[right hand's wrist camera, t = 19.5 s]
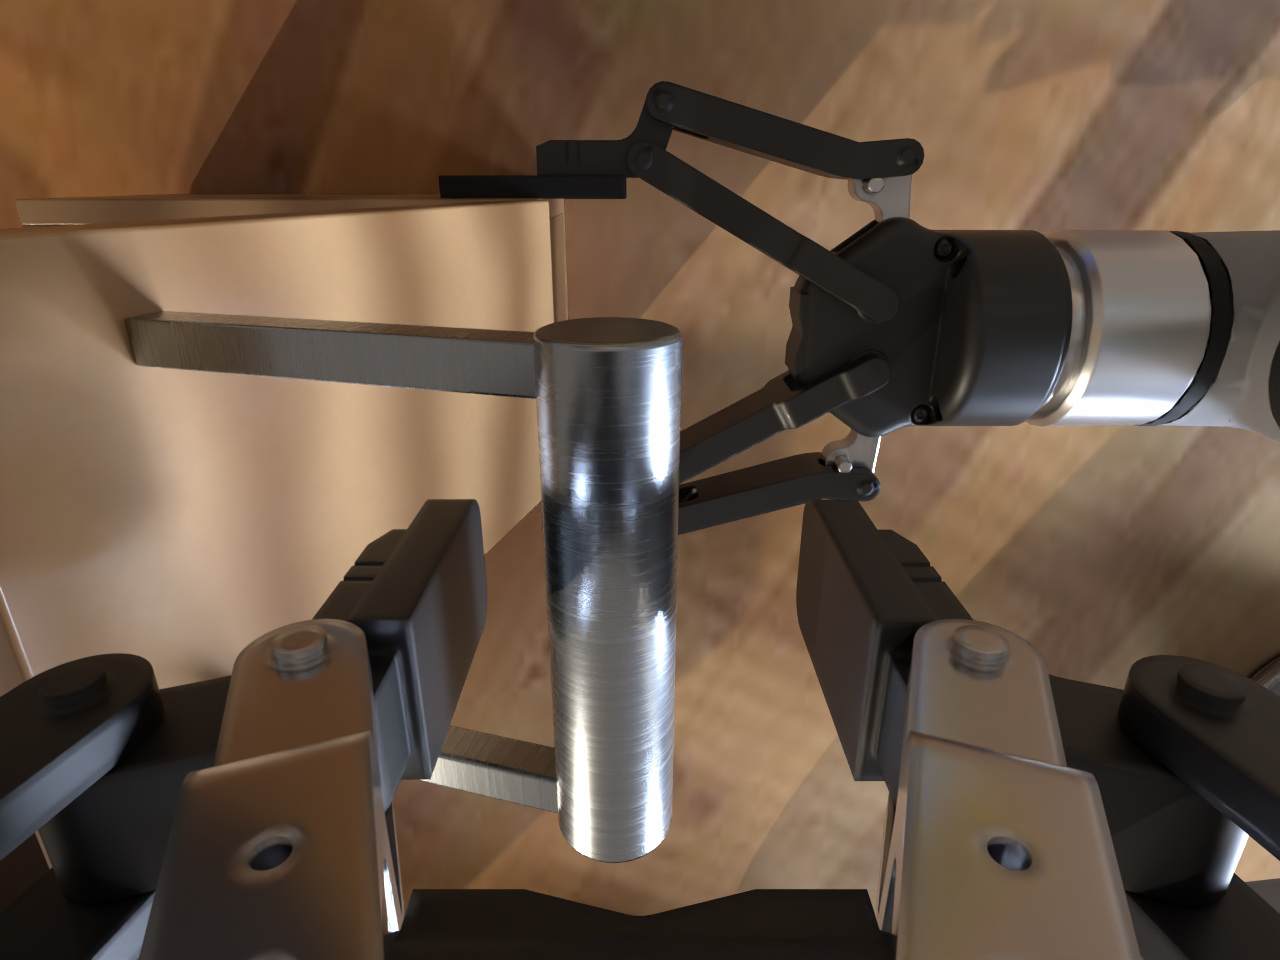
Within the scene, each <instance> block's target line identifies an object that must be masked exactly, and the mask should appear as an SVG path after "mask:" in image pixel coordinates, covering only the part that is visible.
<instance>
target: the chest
mask: <svg viewBox="0 0 1280 960" xmlns="http://www.w3.org/2000/svg"><path fill="white" fill-rule="evenodd" d="M503 200H547V201H548V202H549V218H550V241H551V264H552V287H553V310H554V323H555V322H559V321H565V320H568V300H567V272H566V244H565V217H564V199H541V198H441V197H440V194H167V195H136V196H104V197H72V198H41V199H16V200H15V204H16V207H17V211H18V214H19V218H20V221H21V224H23V225H24V226H23V228H25V227H42V226H60V225H78V224H96V223H113V222H131V221H149V220H166V219H184V218H202V217H219V216H237V215H255V214H273V213H290V212H308V211H326V210H343V209H361V208H379V207H397V206H414V205H432V204H450V203H467V202H485V201H503Z"/></svg>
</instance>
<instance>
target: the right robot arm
mask: <svg viewBox="0 0 1280 960" xmlns="http://www.w3.org/2000/svg"><path fill="white" fill-rule="evenodd" d="M796 602H797V615H798V622H799V626H800V629H801V632H802V635H803V638H804V641H805V643H806V646H807V649H808V652H809V655H810V657H811V660H812V663H813V666H814V669H815V671H816V674H817V677H818V680H819V683H820V685H821V688H822V691H823V694H824V697H825V699H826V702H827V705H828V708H829V711H830V713H831V716H832V719H833V722H834V724H835V727H836V730H837V733H838V736H839V738H840V741H841V744H842V747H843V750H844V752H845V755H846V758H847V761H848V764H849V766H850V769H851V772H852V775H853V778H854V780H855V781H885V783H886V785H887V788H888V790H889V797H888V803H887V809H886V815H885V822H884V832H883V842H882V852H881V862H880V872H879V882H878V892H877V902H876V912H875V913H874V910H873V907H872V904H871V901H870V898H869V894H868V891H867V889H755V890H751V891H747V892H743V893H739V894H735V895H730V896H726V897H722V898H718V899H714V900H710V901H706V902H702V903H698V904H694V905H690V906H686V907H682V908H678V909H674V910H669V911H665V912H661V913H657V914H653V915H647V916H633V915H627V914H623V913H619V912H615V911H611V910H606V909H602V908H598V907H594V906H590V905H586V904H582V903H578V902H574V901H570V900H566V899H562V898H558V897H554V896H550V895H545V894H541V893H537V892H533V891H529V890H525V889H413V891H412V894H411V898H410V901H409V904H408V907H407V910H406V913H405V912H404V902H403V892H402V882H401V872H400V862H399V852H398V842H397V832H396V822H395V815H394V809H393V803H392V800H393V798H394V795H395V793H396V790H397V788H398V785H399V783H400V780H431V777H432V774H433V771H434V768H435V765H436V762H437V760H438V757H439V754H440V751H441V748H442V745H443V742H444V740H445V737H446V734H447V731H448V728H449V725H450V722H451V720H452V717H453V714H454V711H455V708H456V705H457V702H458V700H459V697H460V694H461V691H462V688H463V685H464V682H465V680H466V677H467V674H468V671H469V668H470V665H471V662H472V660H473V657H474V654H475V651H476V648H477V645H478V642H479V640H480V637H481V634H482V631H483V628H484V624H485V619H486V612H487V582H486V571H485V559H484V548H483V536H482V525H481V514H480V508H479V505H478V502H477V500H476V499H428V500H427V501H426V502H425V503H424V505H423V506H422V508H421V509H420V511H419V512H418V514H417V515H416V517H415V518H414V520H413V521H412V523H411V524H410V526H409V527H408V529H392V530H391V531H389V532H387V533H386V534H384V535H383V536H381V537H379V538H378V539H376V540H374V541H373V542H371V543H369V544H368V545H367V546H366V548H365V549H364V550H363V552H362V553H361V554H360V556H359V557H358V558H357V560H356V561H355V565H354V566H351V568H350V569H349V570H348V572H347V573H346V574H345V576H344V580H343V581H340V582H339V584H338V585H337V586H336V588H335V589H334V590H333V592H332V593H331V594H330V596H329V597H328V598H327V600H326V601H325V602H324V604H323V605H322V606H321V608H320V609H319V610H318V612H317V613H316V614H315V616H314V617H313V618H312V620H306V621H300V622H296V623H292V624H288V625H285V626H282V627H279V628H277V629H274V630H272V631H270V632H268V633H266V634H264V635H262V636H260V637H259V638H257V639H255V640H254V641H252V642H251V643H250V644H248V645H247V646H246V647H245V648H244V649H243V650H242V651H241V652H240V653H239V655H238V656H237V658H236V660H235V662H234V665H233V670H232V675H230V676H226V677H221V678H217V679H211V680H206V681H201V682H196V683H190V684H185V685H180V686H174V687H169V688H164V689H159V687H158V684H157V680H156V677H155V673H154V670H153V667H152V665H151V663H150V662H149V661H148V660H147V659H145V658H143V657H141V656H137V655H133V654H125V653H110V654H102V655H95V656H90V657H85V658H81V659H77V660H73V661H70V662H67V663H64V664H61V665H58V666H56V667H53V668H51V669H49V670H46V671H44V672H42V673H40V674H38V675H36V676H34V677H32V678H30V679H28V680H27V681H25V682H23V683H22V684H20V685H18V686H17V687H15V688H14V689H12V690H10V691H9V692H7V693H6V694H4V695H2V696H1V697H0V960H136V959H137V958H138V957H139V959H138V960H1142V959H1141V957H1142V958H1143V959H1144V960H1280V913H1278V912H1277V911H1276V910H1275V909H1274V908H1273V907H1272V906H1271V905H1269V904H1268V903H1267V902H1266V901H1265V900H1264V899H1263V898H1262V897H1260V896H1259V895H1258V894H1257V893H1256V892H1255V891H1254V890H1253V889H1252V888H1250V887H1249V886H1248V885H1247V884H1246V883H1245V882H1244V881H1243V880H1241V879H1240V878H1239V877H1238V876H1237V875H1236V874H1235V873H1234V871H1235V868H1236V866H1237V864H1238V861H1239V859H1240V856H1241V854H1242V851H1243V849H1244V846H1245V844H1246V841H1247V839H1248V836H1250V837H1252V838H1253V839H1254V840H1255V841H1256V842H1258V843H1259V844H1260V845H1261V846H1262V847H1264V848H1265V849H1266V850H1267V851H1268V852H1270V853H1271V854H1272V855H1273V856H1274V857H1276V858H1277V859H1278V860H1279V861H1280V697H1279V696H1278V695H1276V694H1274V693H1273V692H1271V691H1270V690H1268V689H1266V688H1265V687H1263V686H1262V685H1260V684H1258V683H1256V682H1255V681H1253V680H1251V679H1249V678H1247V677H1245V676H1243V675H1241V674H1239V673H1237V672H1235V671H1232V670H1230V669H1227V668H1225V667H1222V666H1219V665H1216V664H1213V663H1210V662H1206V661H1202V660H1198V659H1193V658H1188V657H1182V656H1173V655H1158V656H1150V657H1145V658H1142V659H1140V660H1138V661H1136V662H1135V663H1134V664H1133V665H1132V667H1131V669H1130V672H1129V675H1128V678H1127V682H1126V685H1125V689H1124V690H1121V689H1116V688H1111V687H1105V686H1100V685H1095V684H1090V683H1084V682H1079V681H1074V680H1069V679H1064V678H1060V677H1056V676H1052V675H1049V674H1048V670H1047V665H1046V662H1045V660H1044V658H1043V656H1042V655H1041V653H1040V652H1039V651H1038V650H1037V649H1036V648H1035V647H1034V646H1033V645H1032V644H1030V643H1029V642H1028V641H1026V640H1025V639H1023V638H1021V637H1020V636H1018V635H1016V634H1014V633H1012V632H1010V631H1008V630H1006V629H1003V628H1001V627H998V626H995V625H992V624H988V623H984V622H980V621H974V620H973V619H972V617H971V616H970V615H969V613H968V612H967V611H966V610H965V608H964V607H963V606H962V604H961V603H960V602H959V600H958V599H957V598H956V596H955V595H954V594H953V592H952V591H951V590H950V588H949V587H948V586H947V585H946V583H945V582H942V581H941V577H940V575H939V574H938V573H937V571H936V570H935V569H934V567H930V562H929V561H928V560H927V558H926V557H925V556H924V554H923V553H922V552H921V550H920V549H919V548H918V546H917V545H915V544H914V543H912V542H911V541H909V540H907V539H906V538H904V537H902V536H901V535H899V534H897V533H896V532H894V531H892V530H877V528H876V527H875V525H874V524H873V523H872V521H871V520H870V518H869V517H868V515H867V514H866V512H865V511H864V509H863V508H862V506H861V505H860V503H859V502H858V501H857V500H808V501H807V503H806V505H805V509H804V514H803V524H802V535H801V546H800V557H799V568H798V579H797V594H796ZM37 830H38V832H39V835H40V837H41V840H42V842H43V845H44V847H45V850H46V852H47V855H48V857H49V860H50V862H51V865H52V868H51V869H49V866H48V864H47V862H46V859H45V857H44V854H43V852H42V849H41V847H40V844H39V842H38V839H37V837H36V834H35V832H36V831H37Z"/></svg>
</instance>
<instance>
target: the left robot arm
mask: <svg viewBox="0 0 1280 960" xmlns="http://www.w3.org/2000/svg"><path fill="white" fill-rule="evenodd" d="M672 130H675V131H678V132H681V133H684V134H688V135H691V136H694V137H697V138H700V139H704V140H707V141H710V142H713V143H717V144H720V145H723V146H726V147H729V148H733V149H736V150H739V151H742V152H745V153H749V154H752V155H755V156H758V157H762V158H765V159H768V160H771V161H774V162H778V163H781V164H784V165H787V166H791V167H794V168H797V169H800V170H803V171H807V172H810V173H813V174H816V175H820V176H824V177H828V178H836V179H848V191H849V194H850V195H851V196H852V198H854V199H855V200H857V201H862V202H866V203H868V204H869V205H870V206H871V207H872V208H873V210H874V212H875V220H873V221H872V222H870V223H869V224H868V225H866V226H865V227H863V228H862V229H860V230H859V231H858V232H856V233H855V234H853V235H852V236H851V237H849V238H848V239H846V240H845V241H843V242H842V243H841V244H839V245H838V246H836V247H835V248H834V249H832V250H831V251H828V250H827V249H825V248H824V247H822V246H820V245H819V244H817V243H816V242H814V241H812V240H810V239H809V238H807V237H805V236H803V235H801V234H800V233H798V232H796V231H795V230H793V229H792V228H790V227H788V226H787V225H785V224H784V223H782V222H780V221H779V220H777V219H775V218H774V217H772V216H771V215H769V214H767V213H766V212H764V211H763V210H761V209H759V208H758V207H756V206H754V205H753V204H751V203H750V202H748V201H746V200H745V199H743V198H742V197H740V196H738V195H737V194H735V193H733V192H732V191H730V190H729V189H727V188H725V187H724V186H722V185H721V184H719V183H717V182H716V181H714V180H713V179H711V178H709V177H708V176H706V175H704V174H703V173H701V172H700V171H698V170H696V169H695V168H693V167H692V166H690V165H688V164H687V163H685V162H683V161H682V160H680V159H679V158H677V157H675V156H674V155H672V154H671V153H669V152H667V151H666V147H667V144H668V141H669V138H670V135H671V132H672ZM536 153H537V175H538V176H439V186H440V197H441V198H541V199H625V198H626V178H641V179H642V180H644V181H646V182H647V183H649V184H651V185H652V186H654V187H655V188H657V189H659V190H660V191H662V192H664V193H665V194H667V195H669V196H670V197H672V198H674V199H675V200H677V201H678V202H680V203H682V204H683V205H685V206H687V207H688V208H690V209H692V210H693V211H695V212H697V213H698V214H700V215H702V216H703V217H705V218H706V219H708V220H710V221H711V222H713V223H715V224H716V225H718V226H720V227H721V228H723V229H725V230H726V231H728V232H730V233H731V234H733V235H734V236H736V237H738V238H739V239H741V240H743V241H744V242H746V243H748V244H749V245H751V246H753V247H754V248H756V249H758V250H759V251H761V252H762V253H764V254H766V255H767V256H769V257H771V258H772V259H774V260H776V261H777V262H779V263H781V264H782V265H784V266H785V267H787V268H789V269H790V270H792V271H794V272H795V273H797V274H799V275H800V276H799V278H798V279H797V281H796V283H795V286H794V287H791V288H790V302H789V308H790V313H791V318H792V324H793V327H792V330H791V333H790V336H789V339H788V342H787V345H786V356H785V364H786V365H787V367H788V369H789V371H787V372H785V373H783V374H781V375H779V376H777V377H776V378H774V379H772V380H770V381H769V382H768V383H767V384H766V385H765V386H764V387H763V388H762V389H760V390H759V391H757V392H755V393H753V394H751V395H749V396H747V397H745V398H743V399H742V400H740V401H738V402H736V403H734V404H732V405H730V406H728V407H726V408H725V409H723V410H721V411H719V412H717V413H715V414H713V415H711V416H709V417H708V418H706V419H704V420H702V421H700V422H698V423H696V424H694V425H692V426H691V427H689V428H687V429H685V430H683V431H681V432H680V453H679V484H680V483H682V482H684V481H686V480H688V479H690V478H692V477H694V476H696V475H698V474H700V473H702V472H704V471H705V470H707V469H709V468H711V467H713V466H715V465H717V464H719V463H721V462H723V461H725V460H727V459H729V458H731V457H733V456H735V455H737V454H738V453H740V452H742V451H744V450H746V449H748V448H750V447H752V446H754V445H756V444H758V443H760V442H762V441H764V440H766V439H768V438H770V437H771V436H773V435H775V434H777V433H779V432H781V431H783V430H786V429H795V428H798V427H801V426H803V425H805V424H807V423H809V422H811V421H813V420H814V419H816V418H818V417H820V416H822V415H824V414H826V413H828V412H830V413H831V414H833V415H834V416H835V417H837V418H838V419H839V420H841V421H842V422H843V423H845V424H846V425H847V426H849V427H850V428H851V431H850V433H849V434H848V436H847V437H845V438H844V439H842V440H839V441H834V442H831V443H828V444H827V445H826V446H825V447H824V449H823V450H822V452H815V453H805V454H800V455H795V456H791V457H787V458H783V459H779V460H775V461H771V462H767V463H763V464H760V465H756V466H752V467H748V468H744V469H740V470H736V471H732V472H728V473H725V474H721V475H717V476H713V477H709V478H705V479H701V480H697V481H693V482H690V483H686V484H682V485H679V500H678V535H680V534H684V533H688V532H692V531H696V530H700V529H704V528H708V527H712V526H716V525H720V524H724V523H728V522H732V521H736V520H740V519H744V518H748V517H752V516H756V515H760V514H764V513H768V512H772V511H776V510H780V509H784V508H788V507H792V506H796V505H800V504H804V503H807V501H808V500H820V499H835V500H857V501H870V500H872V499H874V498H875V497H876V496H877V495H878V494H879V491H880V482H879V480H878V478H877V477H876V476H875V475H874V468H875V463H876V458H877V453H878V449H879V444H880V439H881V436H885V435H887V434H889V433H891V432H893V431H895V430H897V429H900V428H903V427H906V426H912V425H921V426H1014V425H1018V424H1020V423H1022V422H1024V421H1026V422H1028V423H1029V424H1031V425H1035V426H1041V427H1047V426H1103V425H1139V426H1157V425H1173V426H1227V427H1234V428H1242V429H1246V430H1251V431H1254V432H1257V433H1259V434H1262V435H1264V436H1267V437H1269V438H1272V439H1274V440H1277V441H1279V442H1280V231H1241V232H1199V233H1186V232H1179V231H1136V230H1062V231H1053V232H1051V233H1049V234H1047V235H1045V236H1044V235H1042V234H1041V233H1039V232H1037V231H1033V230H929V229H927V228H925V227H923V226H921V225H919V224H918V223H916V222H915V221H913V220H911V219H909V212H910V194H911V176H912V174H913V173H914V172H916V171H917V170H918V169H919V168H920V166H921V165H922V163H923V159H924V150H923V147H922V146H921V144H920V143H919V142H918V141H916V140H915V139H909V138H906V139H894V140H882V141H870V142H856V141H853V140H850V139H847V138H844V137H841V136H837V135H834V134H831V133H828V132H825V131H822V130H819V129H815V128H812V127H809V126H806V125H803V124H800V123H796V122H793V121H790V120H787V119H784V118H781V117H778V116H774V115H771V114H768V113H765V112H762V111H759V110H756V109H752V108H749V107H746V106H743V105H740V104H737V103H733V102H730V101H727V100H724V99H721V98H718V97H715V96H711V95H708V94H705V93H702V92H699V91H696V90H693V89H689V88H686V87H683V86H680V85H677V84H674V83H670V82H664V81H661V82H659V83H656V84H654V85H653V86H652V87H651V88H650V89H649V92H648V94H647V97H646V100H645V103H644V106H643V109H642V112H641V115H640V118H639V121H638V124H637V126H636V129H635V130H634V131H633V133H632V134H631V135H630V136H628V137H627V138H625V139H622V140H550V141H547V142H545V143H543V144H541V145H538V146H536ZM1250 679H1251V680H1253V681H1255V682H1256V683H1258V684H1260V685H1262V686H1263V687H1265V688H1266V689H1268V690H1270V691H1271V692H1273V693H1274V694H1276V695H1278V696H1279V697H1280V656H1278V657H1277V658H1275V659H1274V660H1272V661H1271V662H1270V663H1268V664H1267V665H1265V666H1264V667H1263V668H1261V669H1260V670H1259V671H1258V672H1257V673H1256V674H1255V675H1253V676H1252V677H1251V678H1250ZM1245 883H1246V884H1247V885H1248V886H1249V887H1250V888H1252V889H1253V890H1254V891H1255V892H1256V893H1257V894H1258V895H1259V896H1260V897H1262V898H1263V899H1264V900H1265V901H1266V902H1267V903H1268V904H1269V905H1271V906H1272V907H1273V908H1274V909H1275V910H1276V911H1277V912H1278V913H1280V878H1279V879H1269V880H1260V881H1251V882H1245ZM1141 959H1142V960H1144V959H1143V958H1142V957H1141Z"/></svg>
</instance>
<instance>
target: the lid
mask: <svg viewBox="0 0 1280 960" xmlns="http://www.w3.org/2000/svg"><path fill="white" fill-rule="evenodd" d="M681 357H682V336H681V333H680V331H679V329H678V328H676V327H674V326H672V325H669V324H666V323H663V322H659V321H654V320H647V319H638V318H620V317H601V318H582V319H572V320H565V321H559V322H555V323H554V310H553V287H552V264H551V241H550V218H549V202H548V201H547V200H503V201H485V202H467V203H450V204H432V205H414V206H397V207H379V208H361V209H343V210H326V211H308V212H290V213H273V214H255V215H237V216H219V217H202V218H184V219H166V220H149V221H131V222H113V223H96V224H78V225H60V226H42V227H25V228H7V229H0V697H1V696H2V695H4V694H6V693H7V692H9V691H10V690H12V689H14V688H15V687H17V686H18V685H20V684H22V683H23V682H25V681H27V680H28V679H30V678H32V677H34V676H36V675H38V674H40V673H42V672H44V671H46V670H49V669H51V668H53V667H56V666H58V665H61V664H64V663H67V662H70V661H73V660H77V659H81V658H85V657H90V656H95V655H102V654H110V653H125V654H133V655H137V656H141V657H143V658H145V659H147V660H148V661H149V662H150V663H151V665H152V667H153V670H154V673H155V677H156V680H157V684H158V687H159V689H164V688H169V687H174V686H180V685H185V684H190V683H196V682H201V681H206V680H211V679H217V678H221V677H226V676H230V675H232V670H233V665H234V662H235V660H236V658H237V656H238V655H239V653H240V652H241V651H242V650H243V649H244V648H245V647H246V646H247V645H248V644H250V643H251V642H252V641H254V640H255V639H257V638H259V637H260V636H262V635H264V634H266V633H268V632H270V631H272V630H274V629H277V628H279V627H282V626H285V625H288V624H292V623H296V622H300V621H306V620H312V618H313V617H314V616H315V614H316V613H317V612H318V610H319V609H320V608H321V606H322V605H323V604H324V602H325V601H326V600H327V598H328V597H329V596H330V594H331V593H332V592H333V590H334V589H335V588H336V586H337V585H338V584H339V582H340V581H343V580H344V576H345V574H346V573H347V572H348V570H349V569H350V568H351V566H354V565H355V561H356V560H357V558H358V557H359V556H360V554H361V553H362V552H363V550H364V549H365V548H366V546H367V545H368V544H369V543H371V542H373V541H374V540H376V539H378V538H379V537H381V536H383V535H384V534H386V533H387V532H389V531H391V530H392V529H408V527H409V526H410V524H411V523H412V521H413V520H414V518H415V517H416V515H417V514H418V512H419V511H420V509H421V508H422V506H423V505H424V503H425V502H426V501H427V500H428V499H476V500H477V502H478V505H479V508H480V514H481V525H482V536H483V548H484V555H485V554H486V553H487V552H488V551H489V550H490V549H491V548H492V547H493V546H494V545H495V544H496V543H498V542H499V541H500V540H501V539H502V538H503V537H504V536H505V535H506V534H507V533H508V532H509V531H510V530H511V529H512V528H513V527H514V526H515V525H516V524H517V523H518V522H519V521H520V520H521V519H522V518H523V517H524V516H526V515H527V514H528V513H529V512H530V511H531V510H532V509H533V508H534V507H535V506H536V505H537V504H538V503H539V502H540V501H542V520H543V538H544V556H545V575H546V593H547V612H548V630H549V649H550V667H551V686H552V704H553V722H554V741H555V748H553V747H548V746H543V745H539V744H534V743H529V742H525V741H520V740H515V739H510V738H506V737H501V736H496V735H492V734H487V733H482V732H478V731H473V730H468V729H464V728H459V727H454V726H449V728H448V731H447V734H446V737H445V740H444V742H443V745H442V748H441V751H440V754H439V757H438V760H437V762H436V765H435V768H434V771H433V774H432V777H431V780H420V781H424V782H428V783H432V784H437V785H441V786H445V787H449V788H454V789H458V790H462V791H466V792H470V793H475V794H479V795H483V796H487V797H491V798H496V799H500V800H504V801H508V802H513V803H517V804H521V805H525V806H529V807H534V808H538V809H542V810H546V811H551V812H555V813H558V815H559V825H560V829H561V831H562V834H563V836H564V837H565V839H566V840H567V842H568V843H569V844H570V845H571V846H572V847H573V848H574V849H575V850H576V851H577V852H579V853H580V854H582V855H584V856H586V857H588V858H590V859H593V860H596V861H601V862H607V863H621V862H627V861H631V860H635V859H638V858H640V857H642V856H644V855H646V854H648V853H649V852H651V851H652V850H654V849H655V848H656V847H657V846H658V845H659V844H660V843H661V842H662V840H663V839H664V837H665V836H666V834H667V832H668V830H669V828H670V825H671V821H672V788H673V740H674V692H675V644H676V596H677V548H678V500H679V453H680V405H681ZM35 834H36V837H37V839H38V842H39V844H40V847H41V849H42V852H43V854H44V857H45V859H46V862H47V864H48V866H49V869H51V868H52V865H51V862H50V860H49V857H48V855H47V852H46V850H45V847H44V845H43V842H42V840H41V837H40V835H39V832H38V830H37V831H36V832H35Z"/></svg>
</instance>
